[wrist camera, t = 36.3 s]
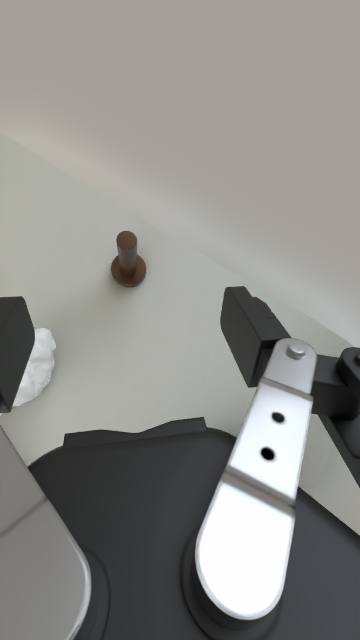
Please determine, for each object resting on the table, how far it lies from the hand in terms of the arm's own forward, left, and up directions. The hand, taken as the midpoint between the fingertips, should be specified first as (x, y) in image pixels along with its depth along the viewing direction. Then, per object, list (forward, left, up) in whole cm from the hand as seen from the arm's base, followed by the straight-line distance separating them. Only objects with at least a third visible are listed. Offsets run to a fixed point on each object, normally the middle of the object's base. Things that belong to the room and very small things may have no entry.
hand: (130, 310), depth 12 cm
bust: (+12, -7, -29) cm, 32 cm away
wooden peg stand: (-7, -9, -29) cm, 31 cm away
